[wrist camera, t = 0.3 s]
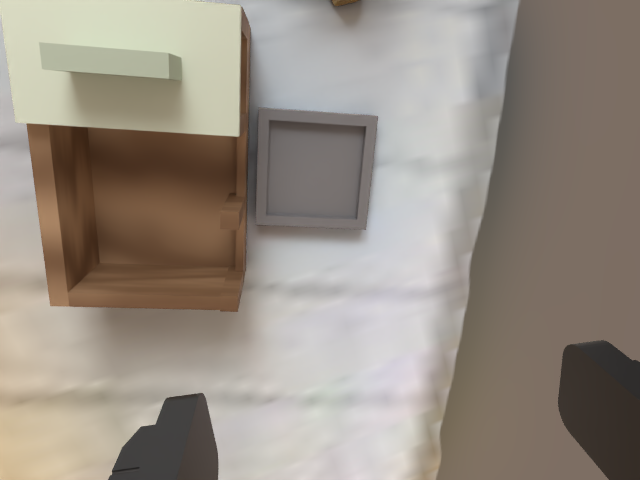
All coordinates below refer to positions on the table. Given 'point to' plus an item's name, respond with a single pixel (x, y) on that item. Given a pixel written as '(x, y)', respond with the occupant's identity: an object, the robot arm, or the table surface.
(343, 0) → the rock
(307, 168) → the dish
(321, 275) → the table surface
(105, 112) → the lid
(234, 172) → the wooden drawer box
